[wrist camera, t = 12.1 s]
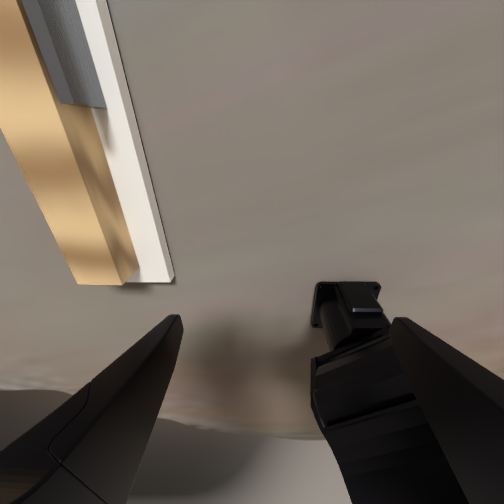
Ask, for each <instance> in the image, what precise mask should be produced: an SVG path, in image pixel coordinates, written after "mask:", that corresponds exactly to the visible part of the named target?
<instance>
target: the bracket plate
mask: <svg viewBox="0 0 504 504" xmlns="http://www.w3.org/2000/svg"><path fill="white" fill-rule="evenodd" d="M22 3H23V6H24V8H25V11H26V14H27V16H28V19H29V21H30V24H31V27H32V29H33V32H34V35H35V37H36V40H37V42H38V45H39V48H40V50H41V53H42V56H43V58H44V61H45V63H46V66H47V69H48V71H49V74H50V77H51V79H52V82H53V84H54V87H55V90H56V92H57V95H58V98H59V100H60V103H62V104H69V105H75V106H81V107H88V108H91V110H92V113H93V116H94V120H95V123H96V126H97V129H98V133H99V136H100V139H101V142H102V146H103V149H104V152H105V155H106V159H107V162H108V165H109V168H110V172H111V175H112V178H113V181H114V185H115V188H116V191H117V194H118V198H119V201H120V204H121V207H122V211H123V214H124V217H125V220H126V224H127V227H128V230H129V233H130V237H131V240H132V243H133V246H134V250H135V253H136V256H137V259H138V263H139V266H140V267H139V268H138V269H137V270H136V271H135V272H134V273H133V274H132V275H131V276H130V278H129V279H128V280H127V281H126V282H171V281H172V279H173V277H174V276H175V275H174V271H173V267H172V263H171V259H170V255H169V251H168V247H167V243H166V239H165V235H164V231H163V227H162V223H161V219H160V215H159V211H158V207H157V203H156V199H155V195H154V191H153V187H152V183H151V179H150V175H149V171H148V167H147V163H146V159H145V155H144V151H143V147H142V143H141V139H140V135H139V131H138V126H137V122H136V118H135V114H134V110H133V106H132V102H131V98H130V94H129V90H128V86H127V82H126V78H125V74H124V70H123V66H122V62H121V58H120V54H119V50H118V46H117V42H116V38H115V34H114V30H113V26H112V22H111V18H110V14H109V10H108V6H107V2H106V0H22Z"/></svg>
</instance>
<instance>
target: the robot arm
mask: <svg viewBox="0 0 504 504" xmlns="http://www.w3.org/2000/svg"><path fill="white" fill-rule="evenodd" d="M321 286H323V287H321ZM375 286H376V287H375ZM380 289H381V286H380V284H379V283H378V282H319V283H317V285H316V292H315V299H314V306H313V313H312V320H311V324H312V327H314V328H323V330H324V333H325V336H326V340H327V343H328V346H329V349H330V352H328V353H326V354H323V355H321V356H319V357H314V358H312V359H311V391H310V396H311V408H312V411H313V413H314V417H315V419H316V421H317V423H318V426H319V428H320V430H321V432H322V433H323V435H324V437H325V438H326V440H327V442H328V443H329V445H330V447H331V449H332V451H333V454H334V456H335V458H336V460H337V463H338V465H339V468H340V470H341V473H342V475H343V478H344V481H345V484H346V487H347V490H348V493H349V495H350V499H351V501H352V504H504V380H503V379H502V378H500V377H498V376H497V375H495V374H494V373H492V372H491V371H489V370H488V369H486V368H484V367H483V366H481V365H480V364H478V363H477V362H475V361H474V360H472V359H471V358H469V357H467V356H466V355H464V354H463V353H461V352H460V351H458V350H457V349H455V348H454V347H452V346H450V345H449V344H447V343H446V342H444V341H443V340H441V339H440V338H438V337H436V336H435V335H433V334H432V333H430V332H429V331H427V330H426V329H424V328H423V327H421V326H419V325H418V324H416V323H415V322H413V321H412V320H410V319H409V318H406V317H395V318H394V320H393V322H392V324H391V323H390V322H389V320H388V319H387V317H386V316H385V314H384V313H383V309H382V307H381V306H380V304H379V303H378V301H377V298H378V295H379V292H380ZM316 323H317V324H316ZM182 336H183V324H182V321H181V317H180V315H178V314H171V315H169V316H167V317H166V318H165V319H164V320H163V321H161V322H160V323H159V324H158V325H157V326H155V327H154V328H153V329H152V330H151V331H149V332H148V333H147V334H146V335H145V336H143V337H142V338H141V339H140V340H139V341H138V342H136V343H135V344H134V345H133V346H132V347H130V348H129V349H128V350H127V351H126V352H124V353H123V354H122V355H121V356H120V357H118V358H117V359H116V360H115V361H114V362H113V363H111V364H110V365H109V366H108V367H107V368H105V369H104V370H103V371H102V372H101V373H99V374H98V375H97V376H96V377H95V378H93V379H92V380H91V382H89V383H87V384H86V385H85V386H84V387H83V388H81V389H80V390H79V391H78V392H77V393H75V394H74V395H73V396H72V397H70V398H69V399H68V400H67V401H66V402H64V403H63V404H62V405H61V406H59V407H58V408H57V409H55V410H54V411H53V412H52V413H50V414H49V415H48V416H46V417H45V418H44V419H42V420H41V421H40V422H38V423H37V424H36V425H34V426H33V427H32V428H30V429H29V430H28V431H26V432H25V433H24V434H22V435H21V436H20V437H18V438H17V439H16V440H14V441H13V442H12V443H10V444H9V445H8V446H6V447H5V448H4V449H2V450H1V451H0V504H126V502H127V499H128V496H129V494H130V491H131V488H132V485H133V482H134V480H135V477H136V474H137V471H138V468H139V466H140V463H141V460H142V457H143V455H144V452H145V449H146V446H147V443H148V441H149V438H150V435H151V432H152V430H153V427H154V424H155V421H156V418H157V416H158V413H159V410H160V407H161V405H162V402H163V399H164V396H165V393H166V391H167V388H168V385H169V382H170V380H171V377H172V374H173V371H174V368H175V364H176V360H177V356H178V352H179V348H180V344H181V340H182Z"/></svg>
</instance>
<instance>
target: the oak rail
mask: <svg viewBox="0 0 504 504" xmlns="http://www.w3.org/2000/svg"><path fill="white" fill-rule="evenodd" d="M0 128H1V130H2V132H3V134H4V136H5V138H6V140H7V142H8V144H9V146H10V148H11V150H12V152H13V154H14V156H15V158H16V160H17V162H18V164H19V166H20V168H21V170H22V172H23V174H24V176H25V178H26V180H27V182H28V184H29V186H30V188H31V190H32V192H33V194H34V196H35V198H36V200H37V202H38V204H39V206H40V208H41V210H42V212H43V214H44V216H45V219H46V221H47V223H48V225H49V227H50V229H51V231H52V233H53V235H54V237H55V239H56V241H57V243H58V245H59V247H60V249H61V251H62V253H63V255H64V257H65V259H66V261H67V263H68V265H69V267H70V269H71V271H72V273H73V275H74V277H75V279H76V281H77V283H78V284H92V285H123V284H124V283H125V282H126V281H127V280H128V279H129V278H130V276H131V275H132V274H133V273H134V272H135V271H136V270H137V269H138V268H139V267H140V266H139V263H138V259H137V256H136V253H135V250H134V246H133V243H132V240H131V237H130V233H129V230H128V227H127V224H126V220H125V217H124V214H123V211H122V207H121V204H120V201H119V198H118V194H117V191H116V188H115V185H114V181H113V178H112V175H111V172H110V168H109V165H108V162H107V159H106V155H105V152H104V149H103V146H102V142H101V139H100V136H99V133H98V129H97V126H96V123H95V120H94V116H93V113H92V110H91V108H88V107H81V106H75V105H69V104H62V103H60V100H59V98H58V95H57V92H56V90H55V87H54V84H53V82H52V79H51V77H50V74H49V71H48V69H47V66H46V63H45V61H44V58H43V56H42V53H41V50H40V48H39V45H38V42H37V40H36V37H35V35H34V32H33V29H32V27H31V24H30V21H29V19H28V16H27V14H26V11H25V8H24V6H23V3H22V0H0Z"/></svg>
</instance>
